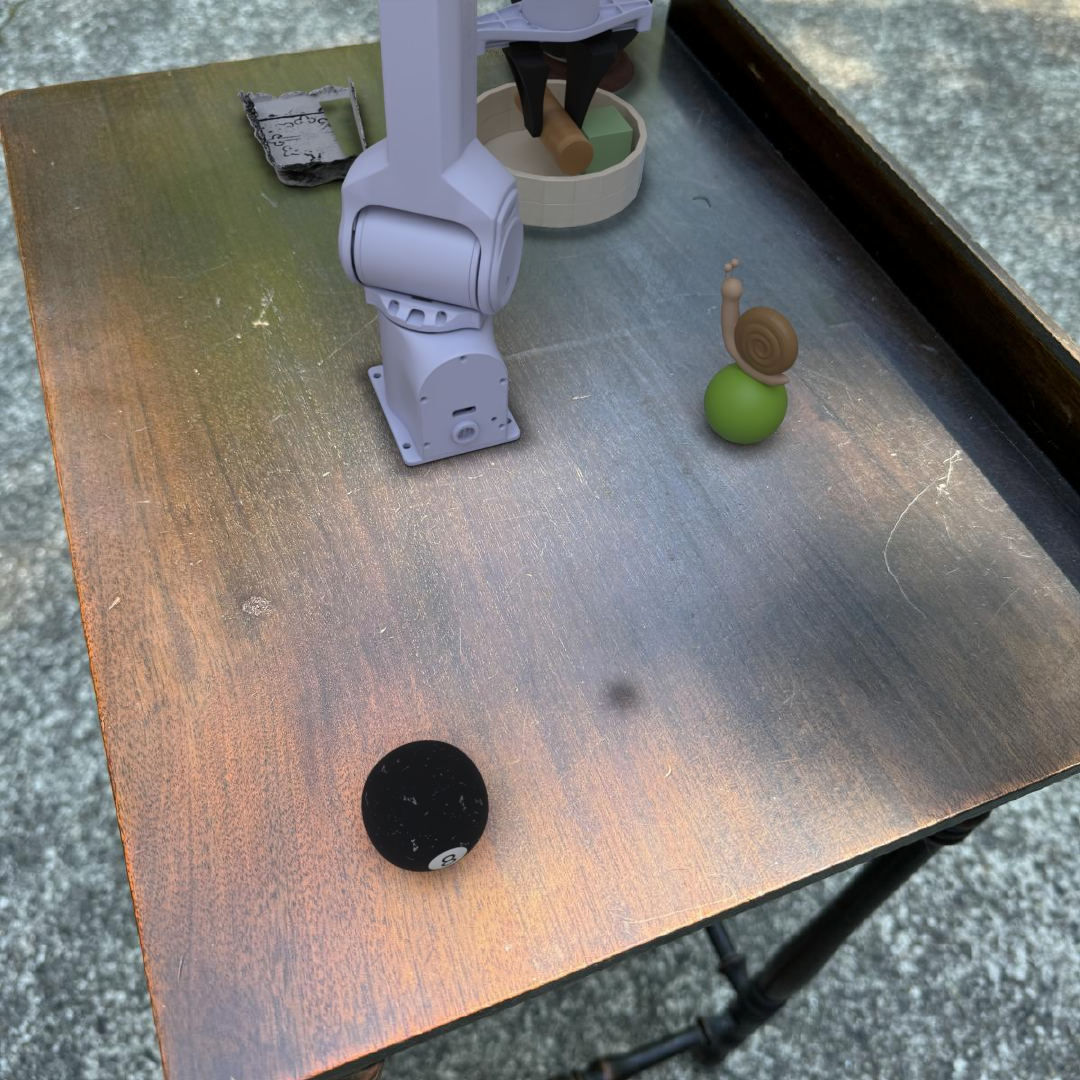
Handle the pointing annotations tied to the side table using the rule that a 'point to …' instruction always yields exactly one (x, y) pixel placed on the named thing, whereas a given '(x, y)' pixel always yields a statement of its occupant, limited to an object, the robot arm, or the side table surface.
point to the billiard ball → (424, 805)
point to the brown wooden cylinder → (562, 136)
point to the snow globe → (615, 75)
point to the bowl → (539, 177)
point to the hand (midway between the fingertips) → (553, 127)
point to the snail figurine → (750, 369)
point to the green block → (606, 138)
